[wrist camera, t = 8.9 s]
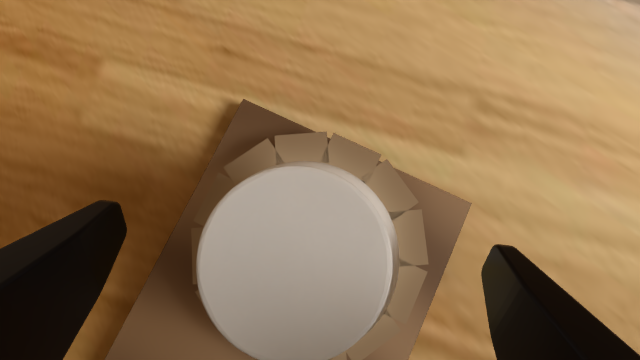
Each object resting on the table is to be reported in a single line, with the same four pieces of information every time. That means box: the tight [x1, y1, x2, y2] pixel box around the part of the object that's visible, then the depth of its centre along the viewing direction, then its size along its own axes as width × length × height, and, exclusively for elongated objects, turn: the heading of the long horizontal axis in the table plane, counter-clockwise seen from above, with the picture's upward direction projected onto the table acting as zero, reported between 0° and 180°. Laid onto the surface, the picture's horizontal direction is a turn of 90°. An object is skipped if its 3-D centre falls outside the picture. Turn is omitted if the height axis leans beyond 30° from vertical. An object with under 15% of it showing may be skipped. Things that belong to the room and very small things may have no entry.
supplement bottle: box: [196, 161, 399, 360], centre depth 12 cm, size 5×5×10 cm
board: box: [105, 99, 472, 360], centre depth 16 cm, size 18×12×2 cm, turn 155°
